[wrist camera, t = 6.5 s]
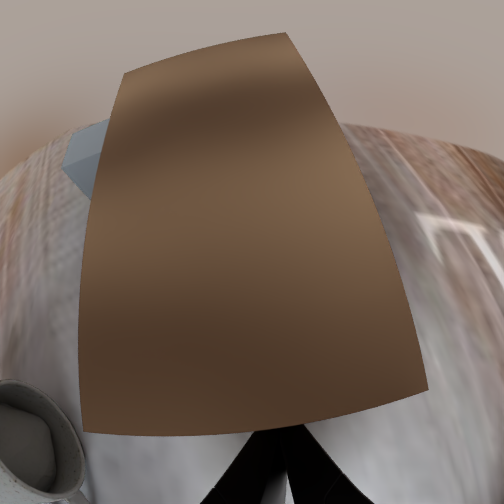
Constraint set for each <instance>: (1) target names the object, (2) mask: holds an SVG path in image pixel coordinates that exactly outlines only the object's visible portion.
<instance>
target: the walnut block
mask: <svg viewBox="0 0 504 504" xmlns="http://www.w3.org/2000/svg"><path fill="white" fill-rule="evenodd" d="M78 363H79V387H80V402H81V413H82V423H83V432H91V433H101V434H114V435H131V436H200V435H217V434H230V433H241V432H251V431H259V430H267V429H274V428H281V427H287V426H293V425H299V424H305V423H310V422H315V421H320V420H325V419H330V418H334V417H339V416H343V415H347V414H351V413H355V412H359V411H363V410H367V409H370V408H374V407H378V406H381V405H384V404H388V403H391V402H394V401H398V400H401V399H404V398H407V397H410V396H413V395H416V394H419V393H421V392H424V391H427V390H429V389H428V384H427V379H426V373H425V369H424V364H423V359H422V355H421V350H420V346H419V342H418V338H417V334H416V330H415V326H414V322H413V318H412V314H411V311H410V307H409V304H408V300H407V297H406V293H405V290H404V287H403V283H402V280H401V277H400V274H399V271H398V268H397V265H396V262H395V259H394V256H393V253H392V250H391V247H390V244H389V241H388V238H387V236H386V233H385V230H384V227H383V225H382V222H381V219H380V217H379V214H378V212H377V209H376V207H375V204H374V202H373V199H372V197H371V194H370V192H369V189H368V187H367V185H366V182H365V180H364V178H363V175H362V173H361V171H360V169H359V166H358V164H357V162H356V160H355V157H354V155H353V153H352V151H351V149H350V147H349V145H348V143H347V140H346V138H345V136H344V134H343V132H342V130H341V128H340V126H339V124H338V122H337V120H336V118H335V116H334V114H333V112H332V111H331V109H330V107H329V105H328V103H327V101H326V99H325V97H324V96H323V94H322V92H321V91H320V88H319V86H318V85H317V83H316V81H315V79H314V78H313V76H312V74H311V73H310V71H309V69H308V68H307V66H306V64H305V62H304V61H303V59H302V57H301V56H300V54H299V53H298V51H297V49H296V48H295V46H294V44H293V43H292V41H291V40H290V38H289V37H288V35H287V34H286V33H277V34H270V35H264V36H258V37H253V38H247V39H242V40H237V41H232V42H227V43H223V44H218V45H214V46H210V47H206V48H202V49H198V50H195V51H191V52H187V53H184V54H180V55H177V56H174V57H170V58H167V59H164V60H161V61H158V62H155V63H152V64H149V65H146V66H143V67H140V68H138V69H135V70H132V71H130V72H127V73H125V74H124V76H123V79H122V82H121V85H120V88H119V91H118V94H117V97H116V100H115V104H114V106H113V110H112V113H111V116H110V120H109V123H108V127H107V131H106V134H105V138H104V142H103V146H102V150H101V154H100V159H99V163H98V168H97V172H96V177H95V182H94V187H93V192H92V197H91V203H90V209H89V215H88V221H87V228H86V236H85V243H84V252H83V261H82V271H81V284H80V299H79V324H78Z"/></svg>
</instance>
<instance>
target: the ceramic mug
mask: <svg viewBox="0 0 504 504" xmlns="http://www.w3.org/2000/svg"><path fill="white" fill-rule="evenodd" d="M84 477H85V458H84V454H83V450H82V447H81V444H80V441H79V439H78V436H77V434H76V432H75V430H74V428H73V427H72V425H71V423H70V421H69V420H68V418H67V417H66V416H65V414H64V413H63V411H62V410H61V409H60V408H59V407H58V406H57V405H56V404H55V402H54V401H53V400H52V399H50V398H49V397H48V396H47V395H46V394H44V393H43V392H42V391H40V390H39V389H37V388H35V387H34V386H32V385H30V384H28V383H25V382H22V381H19V380H12V379H5V380H0V504H41V503H48V502H55V501H60V500H65V501H67V502H68V503H69V504H90V503H89V501H88V500H87V499H86V497H85V496H84V494H83V493H82V492H81V491H80V490H79V489H80V487H81V486H82V483H83V481H84Z"/></svg>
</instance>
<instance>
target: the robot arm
mask: <svg viewBox="0 0 504 504" xmlns="http://www.w3.org/2000/svg"><path fill="white" fill-rule="evenodd" d="M287 475H288V479H289V484H290V488H291V492H292V496H293V500H294V504H374V503H373V502H372V501H371V500H370V499H368V498H367V497H366V496H365V495H364V494H363V493H362V492H361V491H360V490H359V489H358V488H357V487H356V486H355V485H354V484H353V483H352V482H351V481H350V480H349V478H348V477H347V476H346V475H345V474H343V472H342V471H341V469H340V468H339V467H338V466H337V465H336V464H335V462H334V461H333V460H332V459H331V457H330V456H329V455H328V454H327V453H326V451H325V450H324V449H323V448H322V446H321V445H320V444H319V443H318V441H317V440H316V439H315V438H314V437H313V435H312V434H311V433H310V431H309V430H308V429H307V428H306V426H305V425H304V424H299V425H293V426H287V427H281V428H274V429H267V430H259V431H254V432H253V434H252V435H251V437H250V438H249V440H248V441H247V443H246V444H245V445H244V447H243V448H242V450H241V451H240V452H239V454H238V455H237V457H236V458H235V459H234V461H233V462H232V464H231V465H230V466H229V468H228V469H227V470H226V472H225V473H224V474H223V476H222V477H221V478H220V480H219V481H218V482H217V484H216V485H215V486H214V488H212V489H211V491H210V492H209V493H208V495H207V496H206V497H205V498H204V499H203V501H202V502H201V503H200V504H285V496H286V484H287Z"/></svg>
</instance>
